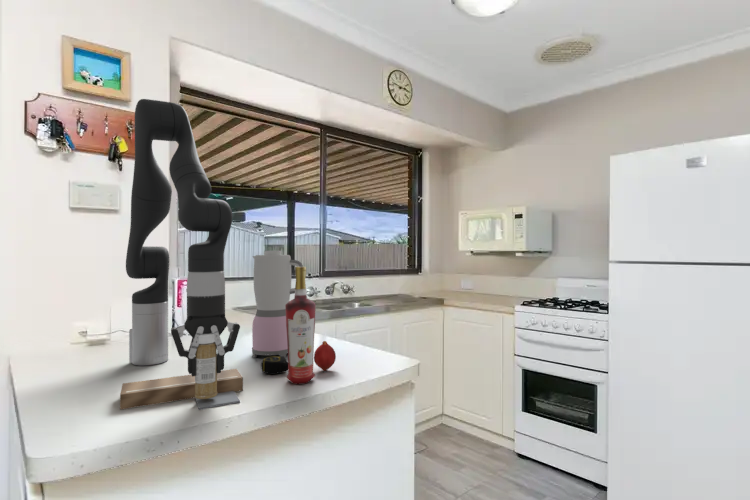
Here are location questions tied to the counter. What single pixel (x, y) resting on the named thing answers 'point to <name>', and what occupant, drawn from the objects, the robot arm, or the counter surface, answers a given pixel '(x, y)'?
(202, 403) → the grey pad
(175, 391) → the walnut board
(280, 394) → the counter surface
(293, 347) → the liquor
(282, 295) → the blender
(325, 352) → the onion
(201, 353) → the sprinkles bottle
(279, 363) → the tape measure
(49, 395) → the counter surface
